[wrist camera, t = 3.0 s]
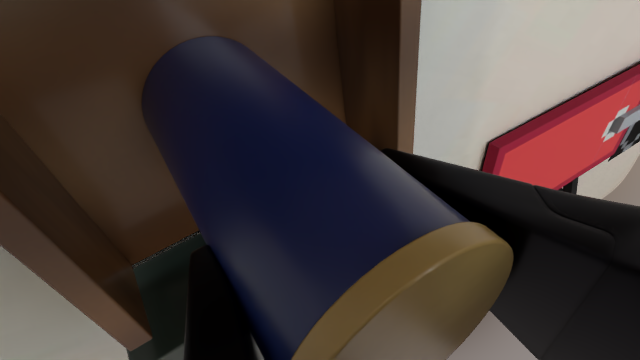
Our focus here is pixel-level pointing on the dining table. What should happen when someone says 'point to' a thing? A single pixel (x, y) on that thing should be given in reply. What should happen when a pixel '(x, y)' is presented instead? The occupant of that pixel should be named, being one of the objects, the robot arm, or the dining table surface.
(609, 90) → the red board with handle
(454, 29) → the dining table surface
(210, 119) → the tin
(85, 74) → the drawer
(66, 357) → the dining table surface
